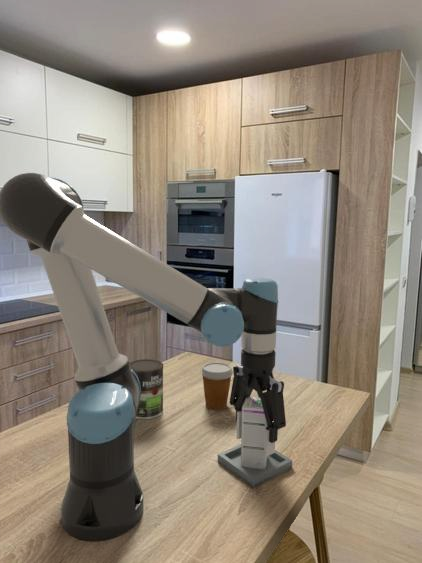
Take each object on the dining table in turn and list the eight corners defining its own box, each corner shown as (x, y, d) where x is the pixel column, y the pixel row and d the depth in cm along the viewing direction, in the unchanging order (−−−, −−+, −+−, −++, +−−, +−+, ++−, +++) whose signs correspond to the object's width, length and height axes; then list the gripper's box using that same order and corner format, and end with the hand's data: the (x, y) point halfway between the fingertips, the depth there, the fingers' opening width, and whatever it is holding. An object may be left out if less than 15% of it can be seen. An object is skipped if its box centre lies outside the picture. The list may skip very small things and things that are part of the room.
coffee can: (170, 412, 121) (170, 365, 119) (139, 423, 114) (139, 374, 112) (150, 400, 129) (150, 356, 126) (120, 410, 122) (120, 363, 120)
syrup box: (266, 470, 93) (269, 409, 90) (239, 467, 94) (241, 406, 92) (268, 456, 98) (270, 398, 96) (243, 453, 99) (245, 395, 97)
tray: (253, 487, 88) (253, 479, 87) (217, 461, 97) (217, 454, 97) (292, 467, 95) (292, 460, 95) (255, 444, 104) (255, 438, 104)
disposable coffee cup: (226, 414, 120) (227, 374, 118) (195, 409, 123) (196, 370, 121) (235, 401, 129) (236, 364, 127) (206, 396, 132) (207, 360, 130)
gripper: (307, 358, 86) (302, 460, 89) (239, 335, 102) (236, 422, 106) (282, 366, 81) (277, 473, 85) (215, 340, 98) (213, 431, 101)
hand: (255, 445), depth 95 cm, fingers open, 8 cm apart
